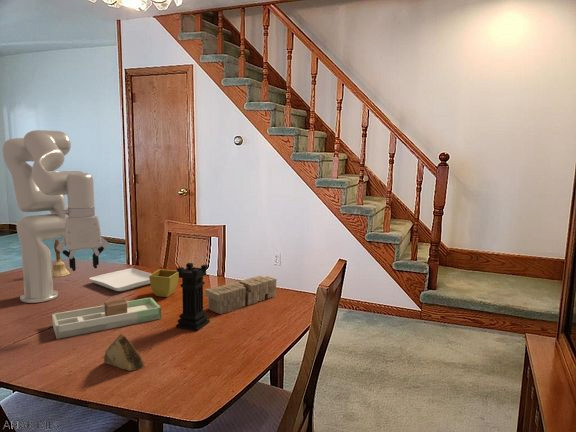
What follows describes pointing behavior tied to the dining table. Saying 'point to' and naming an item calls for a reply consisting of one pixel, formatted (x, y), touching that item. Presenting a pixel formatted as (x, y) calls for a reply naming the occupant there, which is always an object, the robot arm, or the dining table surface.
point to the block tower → (240, 293)
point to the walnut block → (115, 307)
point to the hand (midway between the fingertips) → (84, 268)
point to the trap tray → (103, 318)
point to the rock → (123, 355)
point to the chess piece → (192, 297)
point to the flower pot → (164, 282)
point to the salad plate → (122, 279)
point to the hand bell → (59, 264)
